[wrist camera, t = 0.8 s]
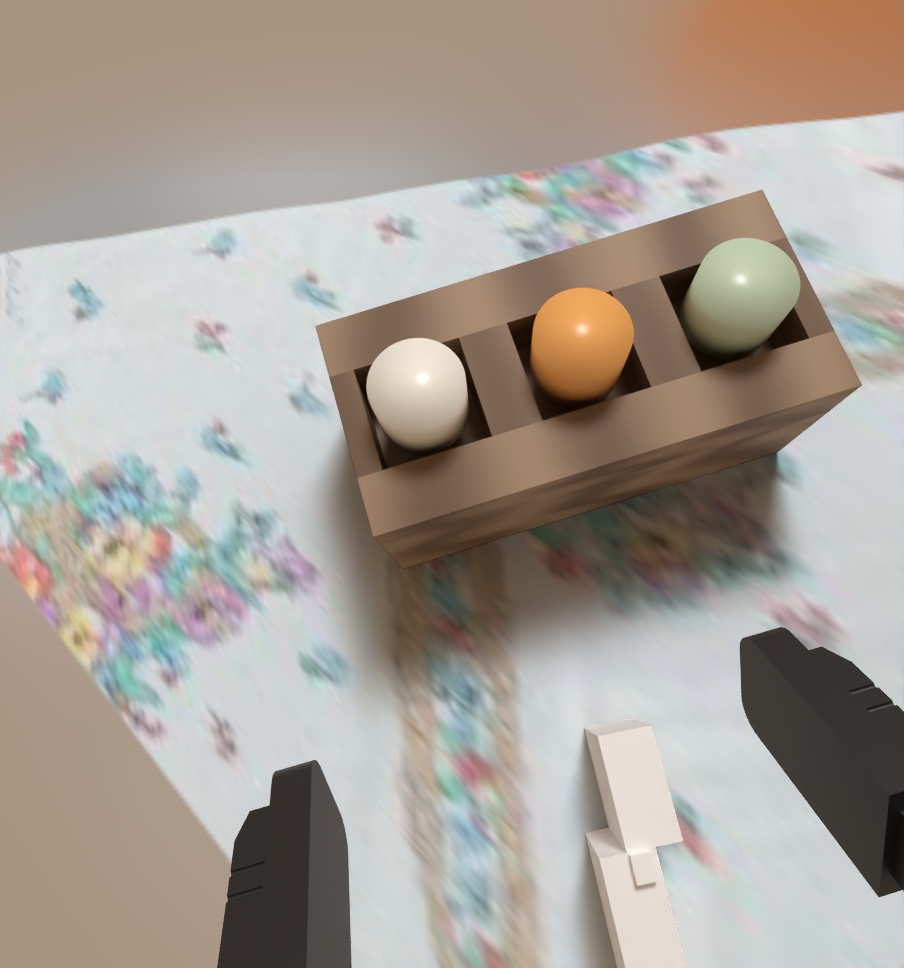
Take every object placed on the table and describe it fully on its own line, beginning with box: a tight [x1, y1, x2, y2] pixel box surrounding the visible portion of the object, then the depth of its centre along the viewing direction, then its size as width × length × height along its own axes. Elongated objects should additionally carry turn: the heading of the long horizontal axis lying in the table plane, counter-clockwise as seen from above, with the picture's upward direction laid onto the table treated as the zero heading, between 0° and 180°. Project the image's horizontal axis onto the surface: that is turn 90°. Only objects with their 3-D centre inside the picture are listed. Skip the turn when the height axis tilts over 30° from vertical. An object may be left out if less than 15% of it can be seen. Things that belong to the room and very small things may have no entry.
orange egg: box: [530, 288, 634, 407], centre depth 29 cm, size 4×4×3 cm
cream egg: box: [366, 338, 469, 454], centre depth 29 cm, size 4×4×3 cm
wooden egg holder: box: [315, 190, 862, 569], centre depth 34 cm, size 21×10×9 cm, turn 107°
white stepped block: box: [584, 718, 687, 968], centre depth 30 cm, size 15×11×6 cm
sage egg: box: [679, 238, 800, 359], centre depth 29 cm, size 4×4×3 cm
